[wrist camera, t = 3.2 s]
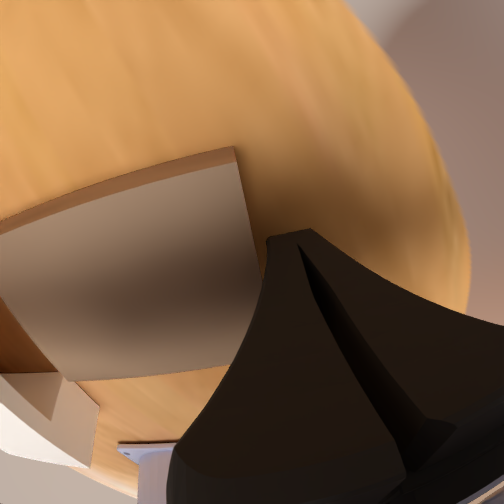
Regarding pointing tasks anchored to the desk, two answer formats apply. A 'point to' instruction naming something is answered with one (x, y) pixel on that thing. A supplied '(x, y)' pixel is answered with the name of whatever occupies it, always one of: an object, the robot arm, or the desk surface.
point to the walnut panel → (136, 271)
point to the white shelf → (47, 419)
